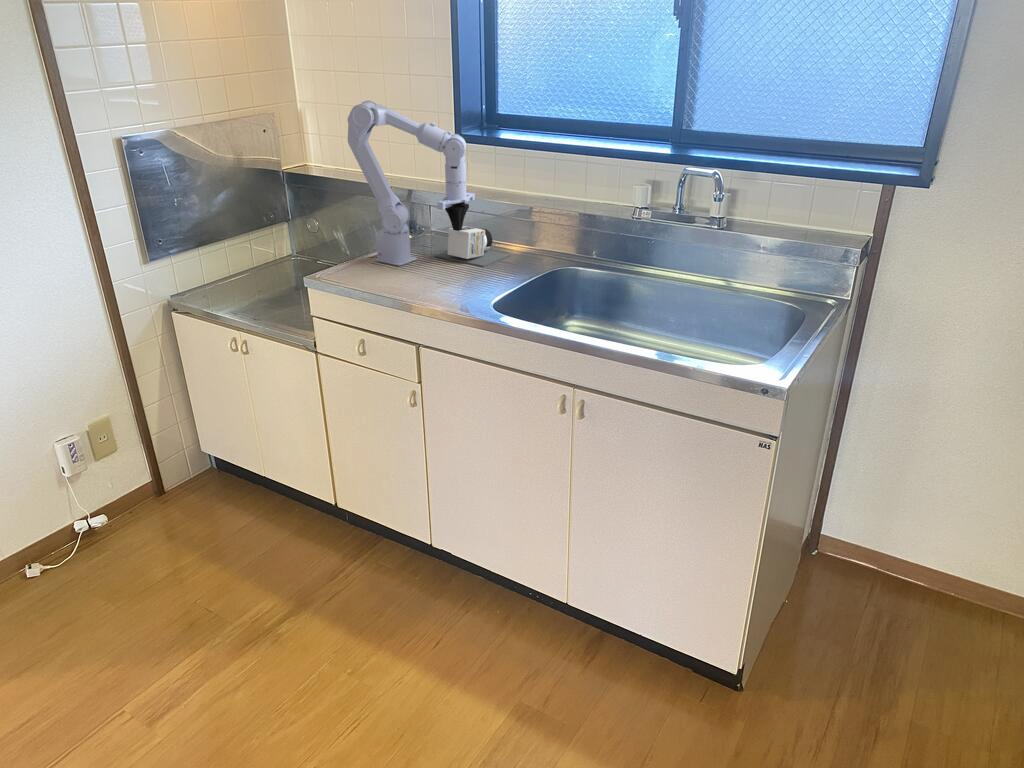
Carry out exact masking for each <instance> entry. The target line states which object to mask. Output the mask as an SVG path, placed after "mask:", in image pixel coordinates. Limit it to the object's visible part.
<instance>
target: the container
mask: <svg viewBox="0 0 1024 768" xmlns="http://www.w3.org/2000/svg"><path fill="white" fill-rule="evenodd" d="M447 235H448V237H447V238H448V239H447V250H448V255H452V256H456V257H461V258H465V259H470V258H476V257H481V256H483V255H484V251H485V250H488V251H489V250H490V248H491V247H492V245H493V235H492V234H491V232H490V231H489V230H488V229H487V228H475V227H470V226H466V225H465V226H464V225H462V230H460V231H456V230H453V227H449V228H448V234H447Z"/></svg>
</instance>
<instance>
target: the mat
mask: <svg viewBox="0 0 1024 768" xmlns="http://www.w3.org/2000/svg"><path fill="white" fill-rule="evenodd" d="M508 256H509V257H511V255H510V254H507V253H503V252H498V251H492V250H489V249H488V250H485V251H484V255H483V256H481V257H476V258H470V259H465V258H461V257H456V256H452V255H448V249H447V250H445V251H442V252H439V253H437V254H435V255H434V257H435V258H439V259H445V260H448V259H449V261H452V262H453V261H454V262H458V263H462V264H468V265H473V266H476V267H481V268H486V267H488V266H489V265H492V264H495V263H497V262H499V261H502V260H504V259H506V257H507V258H509V257H508Z"/></svg>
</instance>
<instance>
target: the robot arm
mask: <svg viewBox="0 0 1024 768" xmlns="http://www.w3.org/2000/svg"><path fill="white" fill-rule="evenodd" d="M347 123H348V124H347V126H348V127H347V144H348V146H349V148H350V149H351V151H352V154H353V156H354V158H355V160H356V162H357V163H358V166H359V168H360V170H361V172H362V173H363V176H364V177H365V179H366V182H367V184H368V186H369V188H370V190H371V192H372V194H373V195H374V198H375V199H376V201H377V207H378V212H379V215H380V217H381V225H382V227H383V228H380V229H379V230H378V232H377V233H376V237H375V245H376V258H375V262H376V261H377V262H380V263H385V264H390V265H393V266H398V267H400V266H404V265H406V264H409V263H411V262H415V261H416V260H418V258H417V257H416V256H411V243H410V242H411V238H410V228H409V226H408V225H407V222H408V221H409V219H410V211H409V210H408V208H407V207H406V206H405V205H404V204H403V203H402V202H401V200H400V199H399V197H398V196H397V195H396V194H395V193H394V191H393V189H392V187H391V184H390V183H389V181H388V178H387V177H386V175H385V173H384V170H383V169H382V166H381V165H380V163H379V161H378V159H377V156H376V154H375V152H374V150H373V148H372V146H371V144H370V142H369V138H370V136H371V133H372V130H373V128H374V127H379V126H386V125H389V126H391V127H393V128H396V129H398V130H401V131H403V132H405V133H409V134H411V135H412V136H415V137H416V138H417V141H418V143H419V144H422V145H423V146H425V147H428V148H430V149H431V150H434V151H436V152H438V153H443V156H444V157H445V158H444V159H445V161H444V162H445V164H444V174H445V179H444V180H445V197H443V198H442V199H441V200H439V201H437V204H436V205H437V208H436V209H437V210H445V212H446V214H447V215H448V218H449V219H450V223H451V228H453V230H456V231H460V230H462V227H463V226H464V225H463V224H464V220H465V218H466V214H467V212H468V210H469V208H470V205H469V203H467V202H470V201H475V200H476V199H475V198H476V197H475V196H476V195H475V194H476V193H475V192H470V191H469V192H467V164H466V155H465V152H466V150H467V143H466V140H465V138H464V137H462V136H461V135H460V134H458V133H453V132H452V131H451V130H448V131H447V130H444V129H443V128H440V127H438V126H437V124H436V123H435V122H433V121H432V122H424V123H422V124H420V123H419V122H416V121H414V120H412V119H410V118H409V117H406V116H405V115H403V114H401V113H399V112H397V111H396V110H393V109H391V108H389V107H387V106H385V105H382V104H381V103H380V104H379V103H376V102H375V101H373V100H365V101H362V102H361V103H359V104H356V105H355V106H353V107H352V108H351V110H350V112H349V115H348V117H347Z"/></svg>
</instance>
